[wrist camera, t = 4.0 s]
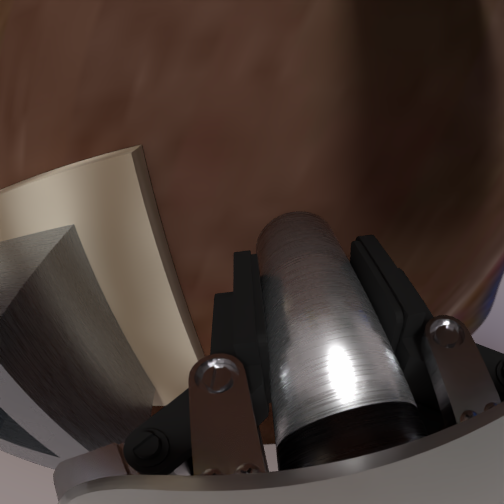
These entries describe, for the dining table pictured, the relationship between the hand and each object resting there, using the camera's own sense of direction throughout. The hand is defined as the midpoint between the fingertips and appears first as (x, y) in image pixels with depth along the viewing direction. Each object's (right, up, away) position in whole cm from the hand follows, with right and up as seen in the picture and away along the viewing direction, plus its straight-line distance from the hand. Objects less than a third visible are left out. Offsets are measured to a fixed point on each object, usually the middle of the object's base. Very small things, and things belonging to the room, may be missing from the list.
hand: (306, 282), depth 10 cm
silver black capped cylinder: (0, +1, +2) cm, 2 cm away
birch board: (-13, -2, +3) cm, 13 cm away
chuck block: (-15, -3, +2) cm, 16 cm away
